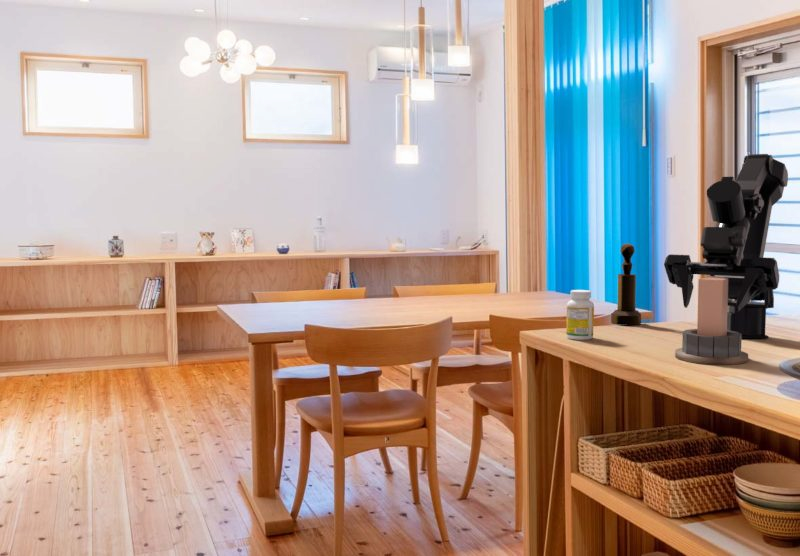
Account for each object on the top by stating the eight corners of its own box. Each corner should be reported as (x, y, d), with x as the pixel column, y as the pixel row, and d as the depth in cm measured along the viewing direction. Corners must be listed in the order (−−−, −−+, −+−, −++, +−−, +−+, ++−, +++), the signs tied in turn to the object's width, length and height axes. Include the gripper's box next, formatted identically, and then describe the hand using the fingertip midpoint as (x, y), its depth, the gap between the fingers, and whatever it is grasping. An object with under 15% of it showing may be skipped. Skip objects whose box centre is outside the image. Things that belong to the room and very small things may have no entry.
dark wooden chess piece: (621, 320, 192) (622, 242, 191) (646, 323, 188) (648, 243, 186) (605, 323, 188) (607, 243, 186) (631, 326, 183) (633, 244, 181)
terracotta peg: (702, 349, 149) (704, 277, 148) (726, 351, 147) (728, 278, 145) (696, 353, 146) (698, 279, 144) (720, 355, 143) (722, 280, 142)
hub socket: (733, 352, 152) (734, 327, 152) (759, 365, 140) (760, 338, 140) (666, 351, 152) (667, 327, 152) (687, 364, 140) (688, 338, 140)
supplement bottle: (580, 341, 164) (581, 292, 164) (560, 337, 169) (561, 290, 168) (599, 338, 168) (599, 291, 167) (578, 335, 172) (579, 288, 171)
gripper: (668, 210, 152) (647, 275, 144) (778, 210, 142) (762, 280, 134) (680, 251, 159) (660, 314, 151) (785, 254, 149) (770, 323, 141)
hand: (710, 307), depth 144 cm, fingers open, 8 cm apart
